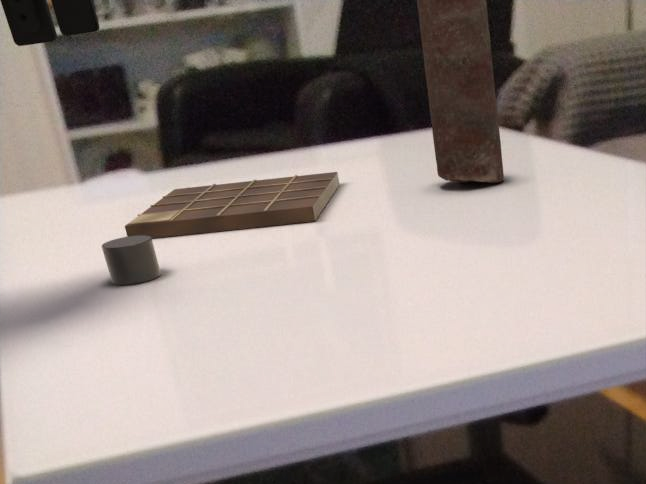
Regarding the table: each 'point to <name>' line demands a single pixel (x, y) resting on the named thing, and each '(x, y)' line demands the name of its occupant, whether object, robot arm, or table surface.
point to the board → (236, 206)
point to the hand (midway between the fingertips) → (60, 38)
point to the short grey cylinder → (131, 260)
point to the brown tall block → (461, 90)
